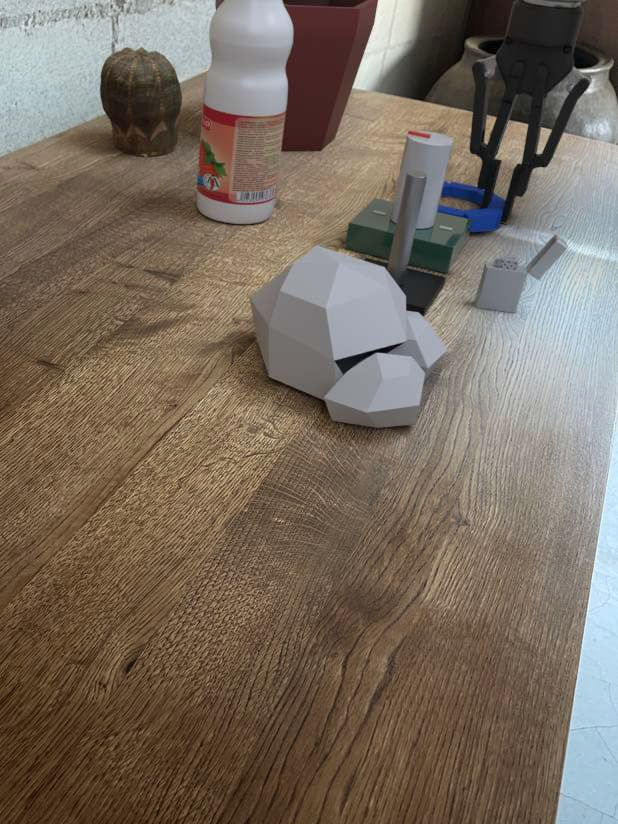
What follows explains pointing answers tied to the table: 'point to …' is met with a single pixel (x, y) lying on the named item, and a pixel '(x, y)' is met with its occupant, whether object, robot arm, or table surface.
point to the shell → (141, 101)
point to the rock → (346, 338)
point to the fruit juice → (244, 110)
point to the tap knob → (430, 158)
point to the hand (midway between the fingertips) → (493, 218)
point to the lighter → (514, 277)
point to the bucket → (322, 67)
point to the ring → (481, 217)
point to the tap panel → (429, 245)
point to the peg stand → (412, 282)
